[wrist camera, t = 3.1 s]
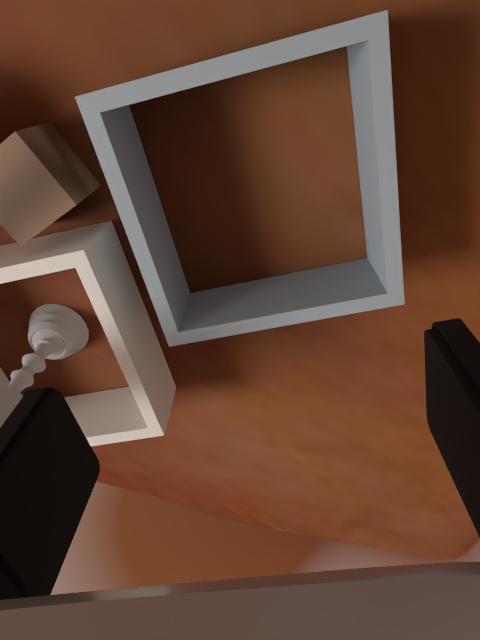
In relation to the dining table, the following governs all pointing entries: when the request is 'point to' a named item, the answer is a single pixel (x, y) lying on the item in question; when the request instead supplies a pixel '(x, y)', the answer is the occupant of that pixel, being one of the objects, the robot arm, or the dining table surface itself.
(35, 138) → the walnut block
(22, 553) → the robot arm
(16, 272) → the frame
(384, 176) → the frame
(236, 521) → the dining table surface
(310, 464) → the dining table surface
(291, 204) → the dining table surface
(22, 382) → the chalice
